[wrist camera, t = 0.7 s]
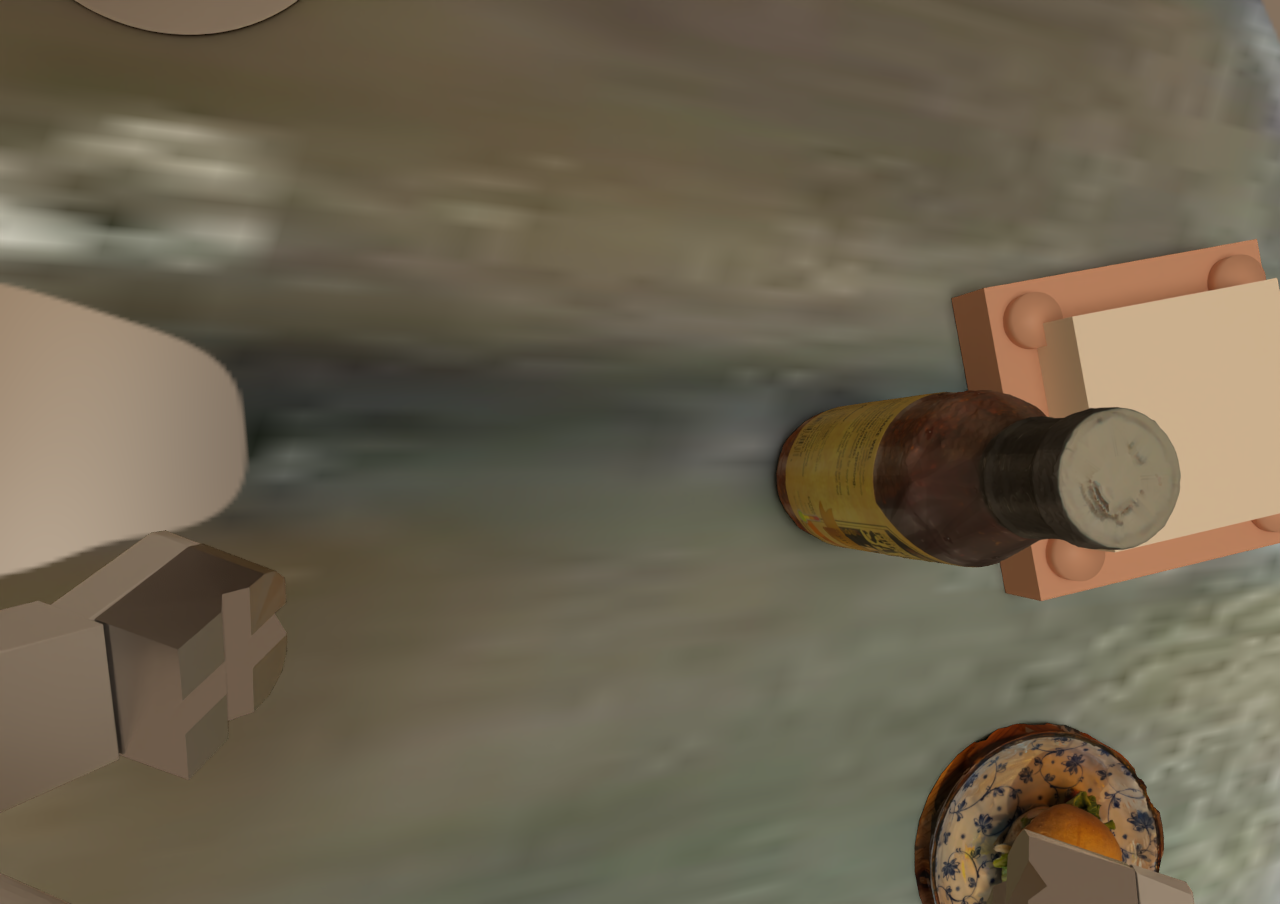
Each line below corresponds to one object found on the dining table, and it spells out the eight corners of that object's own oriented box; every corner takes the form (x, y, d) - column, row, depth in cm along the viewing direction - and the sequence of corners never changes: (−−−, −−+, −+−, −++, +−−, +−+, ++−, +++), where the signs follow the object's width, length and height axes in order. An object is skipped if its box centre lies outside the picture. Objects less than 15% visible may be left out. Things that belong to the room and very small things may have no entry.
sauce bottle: (776, 551, 49) (1008, 609, 30) (764, 412, 49) (989, 378, 30) (912, 536, 50) (1220, 582, 31) (900, 401, 50) (1201, 362, 31)
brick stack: (951, 298, 51) (1020, 276, 45) (1211, 251, 54) (1308, 225, 48) (1005, 592, 51) (1081, 610, 45) (1261, 531, 54) (1363, 539, 48)
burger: (950, 1010, 51) (1039, 1102, 44) (880, 771, 50) (959, 823, 43) (1169, 915, 53) (1288, 987, 46) (1104, 685, 53) (1214, 721, 45)
